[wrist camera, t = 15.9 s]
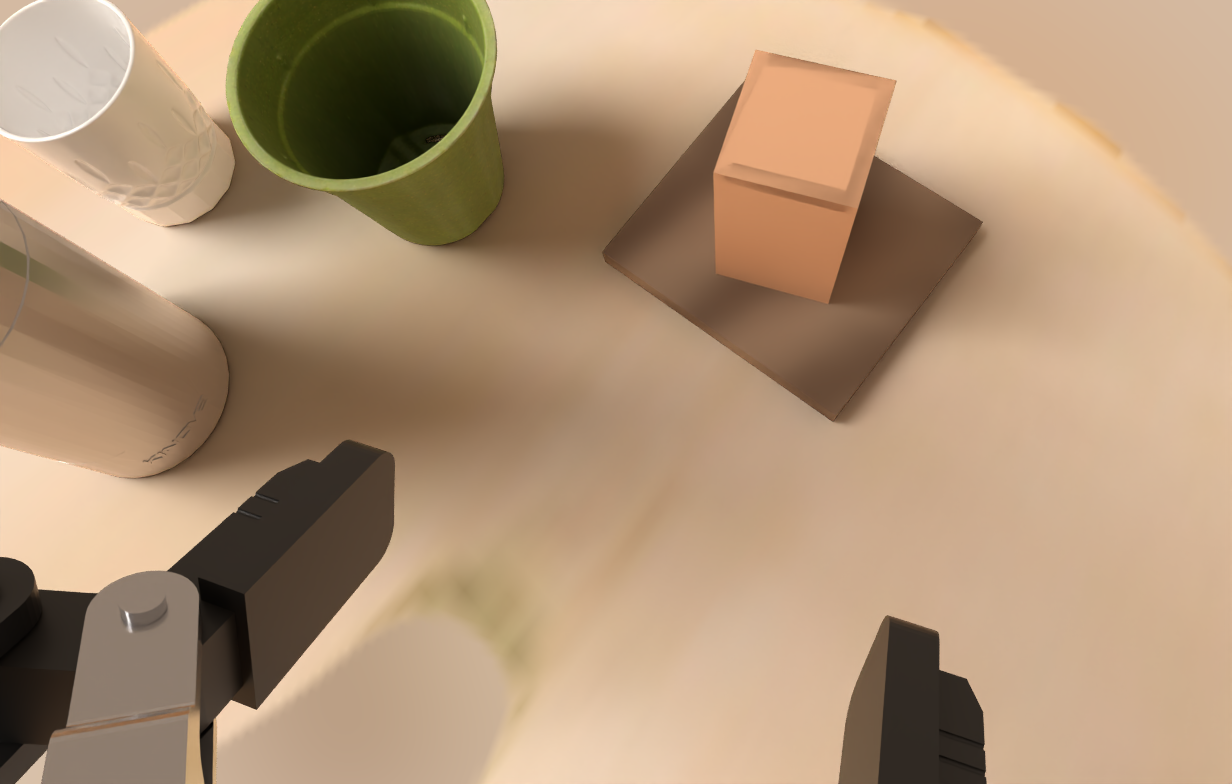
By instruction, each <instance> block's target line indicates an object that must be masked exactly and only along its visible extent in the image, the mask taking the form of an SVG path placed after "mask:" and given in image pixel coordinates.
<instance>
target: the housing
mask: <svg viewBox="0 0 1232 784" xmlns="http://www.w3.org/2000/svg"><path fill="white" fill-rule="evenodd" d="M895 84H896V80H891V79H886V78H882V77H877V76H873V75H868V74H864V73H859V72H855V71H850V70H845V69H841V68H836V67H832V66H827V65H823V64H818V63H814V62H809V61H804V60H800V59H795V58H791V57H786V56H782V55H777V54H773V53H768V52H764V51H759V50H755V53H754V56H753V59H752V62H751V65H750V68H749V71H748V74H747V76H746V79H745V82H744V85H743V88H742V91H741V94H740V97H739V100H738V102H737V105H736V108H735V111H734V114H733V117H732V120H731V123H730V126H729V129H728V131H727V134H726V137H725V140H724V143H723V146H722V149H721V152H720V155H719V158H718V160H717V163H716V166H715V169H714V172H713V180H714V223H715V267H716V274H719V275H722V276H726V277H730V278H734V279H737V280H741V281H745V282H748V283H752V284H756V285H759V286H763V287H767V288H770V289H774V290H778V291H781V292H785V293H789V294H793V295H796V296H800V297H804V298H807V299H811V300H815V301H818V302H822V303H826V304H828V303H829V300H830V297H831V293H832V290H833V287H834V284H835V281H836V277H837V274H838V271H839V268H840V264H841V261H842V258H843V255H844V252H845V248H846V245H847V242H848V239H849V236H850V232H851V229H852V226H853V223H854V219H855V216H856V213H857V210H858V207H859V203H860V200H861V197H862V193H863V190H864V187H865V183H866V180H867V177H868V174H869V170H870V167H871V164H872V160H873V157H874V154H875V150H876V147H877V144H878V141H879V137H880V134H881V131H882V127H883V124H884V121H885V117H886V114H887V111H888V108H889V104H890V101H891V98H892V94H893V91H894V88H895Z"/></svg>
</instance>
